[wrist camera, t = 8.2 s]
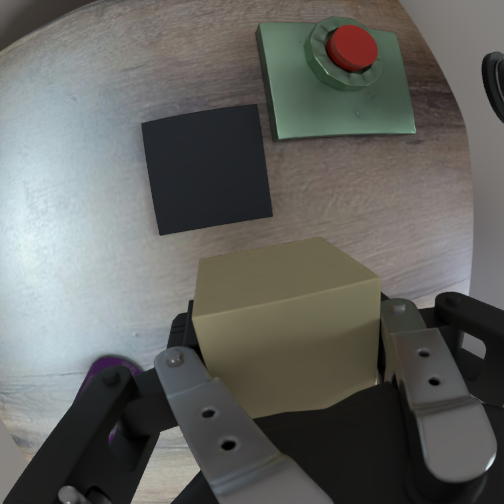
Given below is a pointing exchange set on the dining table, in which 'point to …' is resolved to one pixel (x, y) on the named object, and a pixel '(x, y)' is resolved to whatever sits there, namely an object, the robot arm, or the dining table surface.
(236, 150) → the mat
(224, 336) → the block
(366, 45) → the switch
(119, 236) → the dining table surface
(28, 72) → the dining table surface
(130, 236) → the dining table surface
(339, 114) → the switch base
